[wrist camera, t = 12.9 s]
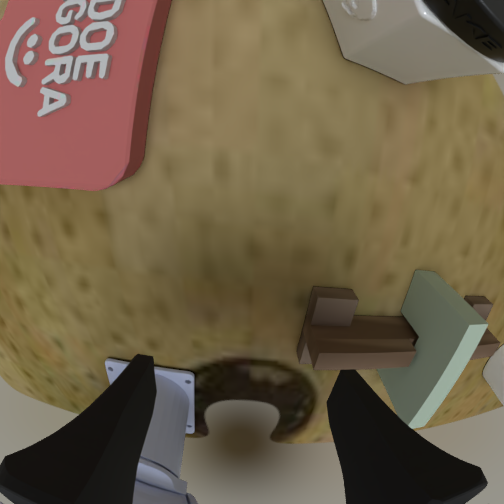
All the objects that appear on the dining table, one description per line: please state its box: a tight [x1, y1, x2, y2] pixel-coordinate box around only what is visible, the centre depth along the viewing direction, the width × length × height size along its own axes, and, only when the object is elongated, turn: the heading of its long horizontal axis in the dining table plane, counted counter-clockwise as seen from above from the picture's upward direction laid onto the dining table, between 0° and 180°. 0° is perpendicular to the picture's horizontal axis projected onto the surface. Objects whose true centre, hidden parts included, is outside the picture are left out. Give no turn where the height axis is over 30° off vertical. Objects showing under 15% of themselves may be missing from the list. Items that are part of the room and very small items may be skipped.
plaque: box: [0, 0, 172, 191], centre depth 13 cm, size 18×4×15 cm
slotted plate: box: [377, 270, 488, 429], centre depth 20 cm, size 10×2×8 cm, turn 173°
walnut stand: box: [297, 286, 500, 370], centre depth 21 cm, size 6×18×4 cm, turn 83°
